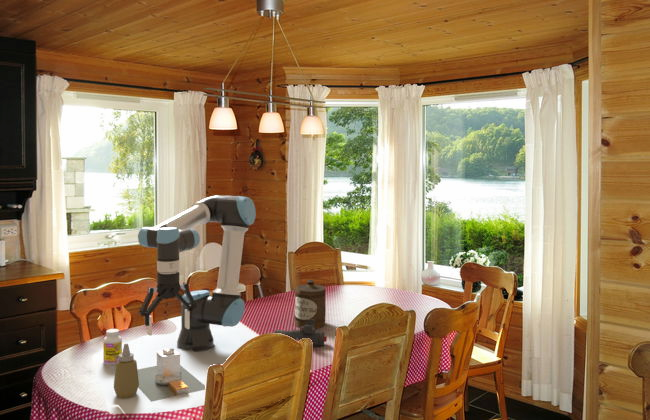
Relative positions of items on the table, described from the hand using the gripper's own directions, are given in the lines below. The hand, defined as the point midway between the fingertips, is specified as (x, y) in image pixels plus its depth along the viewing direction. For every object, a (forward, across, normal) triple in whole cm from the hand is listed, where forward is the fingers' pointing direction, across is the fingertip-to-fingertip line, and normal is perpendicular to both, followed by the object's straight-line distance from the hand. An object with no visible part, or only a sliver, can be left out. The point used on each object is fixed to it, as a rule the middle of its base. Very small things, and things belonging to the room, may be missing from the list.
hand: (168, 331), depth 206 cm
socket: (+16, 0, 0) cm, 16 cm away
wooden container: (+20, +83, +34) cm, 92 cm away
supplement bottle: (+19, -11, +30) cm, 37 cm away
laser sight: (+20, +63, +11) cm, 67 cm away
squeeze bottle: (+19, -16, -4) cm, 25 cm away
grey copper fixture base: (+18, 0, -4) cm, 19 cm away
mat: (+19, -1, +2) cm, 19 cm away
